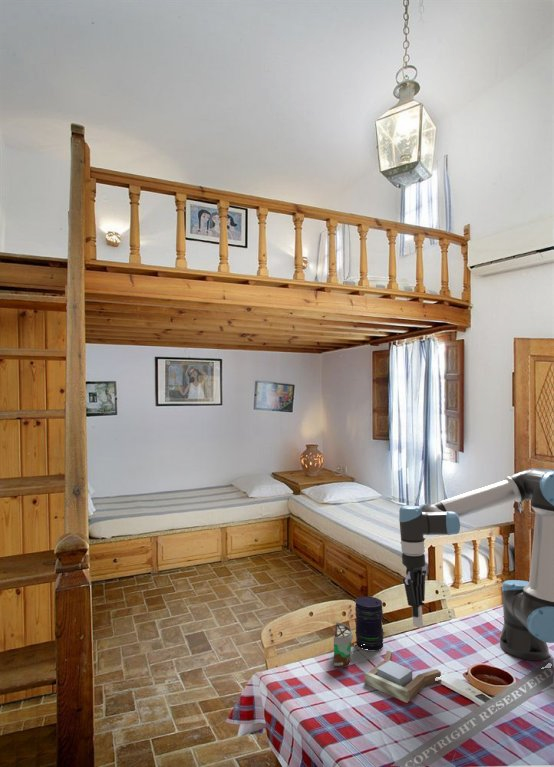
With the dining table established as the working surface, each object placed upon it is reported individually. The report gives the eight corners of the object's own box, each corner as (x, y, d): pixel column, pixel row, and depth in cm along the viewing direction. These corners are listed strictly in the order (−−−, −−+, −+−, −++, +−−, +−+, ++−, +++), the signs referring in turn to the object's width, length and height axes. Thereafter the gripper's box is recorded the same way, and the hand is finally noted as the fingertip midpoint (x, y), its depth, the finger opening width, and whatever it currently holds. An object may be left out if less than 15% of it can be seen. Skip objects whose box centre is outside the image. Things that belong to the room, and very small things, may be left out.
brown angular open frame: (441, 679, 136) (441, 669, 136) (414, 706, 123) (414, 695, 123) (387, 657, 149) (387, 648, 149) (357, 680, 135) (357, 670, 136)
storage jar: (353, 648, 156) (352, 604, 157) (358, 636, 165) (357, 594, 166) (381, 653, 152) (380, 608, 153) (385, 640, 161) (384, 598, 162)
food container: (353, 672, 140) (352, 639, 141) (334, 670, 141) (333, 637, 142) (354, 653, 152) (353, 623, 153) (336, 651, 153) (336, 621, 154)
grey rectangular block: (412, 686, 133) (412, 670, 133) (400, 695, 128) (399, 679, 129) (390, 675, 139) (389, 660, 139) (377, 683, 134) (376, 668, 135)
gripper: (411, 547, 155) (416, 616, 153) (393, 555, 146) (398, 629, 143) (431, 550, 150) (437, 622, 147) (414, 559, 141) (420, 636, 138)
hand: (418, 625), depth 145 cm, fingers closed
